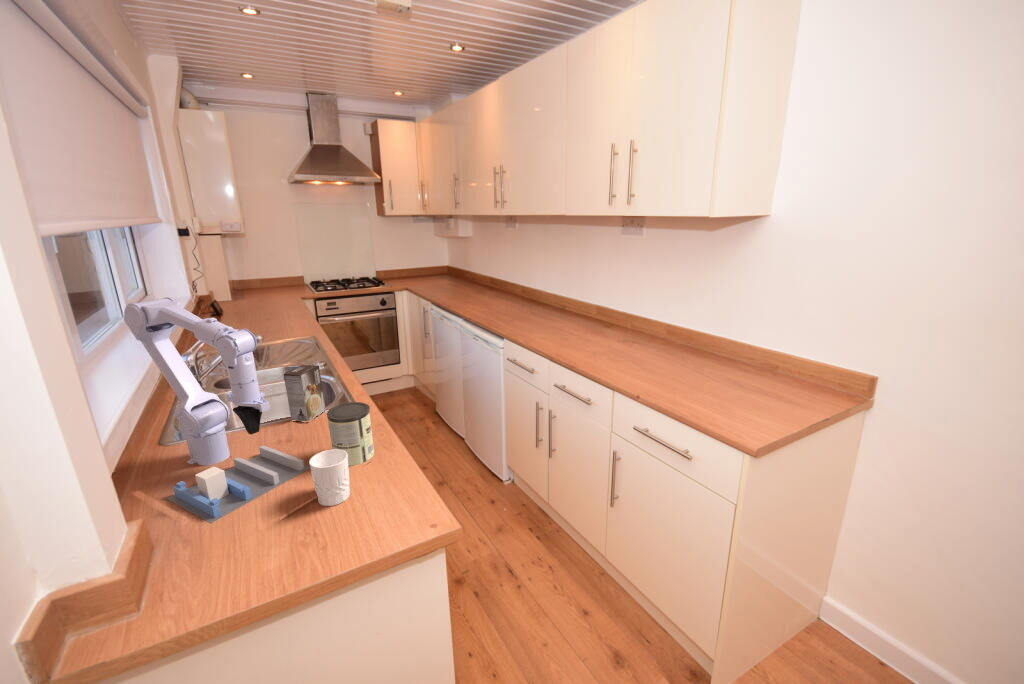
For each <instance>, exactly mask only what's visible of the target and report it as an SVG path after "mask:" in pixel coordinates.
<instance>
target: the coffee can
mask: <svg viewBox="0 0 1024 684" xmlns="http://www.w3.org/2000/svg"><path fill="white" fill-rule="evenodd" d="M370 410H371V408H370V405H369V404H367V403H366V402H359V401H351V402H344V403H339V404H337V405H335V406H333V407H331V408H330V409H328V410H327V412H326V418H327V422H328V429H329V435H330V437H329V438H330V441H331V448H332V449H339V450H344V451H346V452H347V454H348V467H351V466H358V465H361V464H364V463H366V462H368V461H369V462H368V463H366V464H364V465H363V467H365V466H366V465H369V464H370V463H371V461H370V460H371V459H372V458H373V457H374V455H375V449H374V447H375V446H374V440H373V433H372V432H373V431H372V422H371V415H370V413H371V412H370ZM332 449H331V450H332Z"/></svg>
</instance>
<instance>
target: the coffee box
mask: <svg viewBox="0 0 1024 684" xmlns="http://www.w3.org/2000/svg"><path fill="white" fill-rule="evenodd" d="M283 379H284V384H285V391H286V392H285V393H286V396H287V397H286V398H287V402H288V407H289V414H290V419H291V420H296V421H310V420H311V419H313V418H314V417H315V416H317V415H318V414H319V413H321V412H322V411H324V410H326V403H325V398H324V391H323V384H322V378H321V371H320V365H311V364H302V365H299V366H296V367H295V368H293V369H291V370H289V371H287V372H285V373H283ZM326 411H327V410H326ZM291 420H290V421H291ZM313 420H314V419H313Z"/></svg>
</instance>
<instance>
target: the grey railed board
mask: <svg viewBox="0 0 1024 684" xmlns="http://www.w3.org/2000/svg"><path fill="white" fill-rule="evenodd" d="M258 448H259V453H260V454H258V455H256V456H253V457H252V458H249V459H244V458H241V457H239V456H238V457H234V458H233V464H234V466H232V467H230V468H228V469H225V470H224V472H225V477H226V482H227V486H228V491H229V494H228V495H226V496H224V497H223V498H221V499H217V498H214V499H212V500H209V499H207V498H205V497H203V496H201V495H200V494H199V489H198V485H197V483H195V484H194V485H192V486H190V487H186V486H187V482H186V481H183V480H181V481H179V482H177V483H175V485H173V486H172V489H173V493H174V494H173V495H170V496H169V497H166V500H168V501H170V502H172V503H174V505H177V506H178V507H180V508H183V509H184V510H186V511H188V512H189V513H192V514H193V515H195V516H197V517H198V518H200V519H202V520H204V521H206V522H207V523H209V524H212V523H214V522H217V521H218V520H219V519H221V518H223V517H226V516H227V515H229V514H231V513H232V512H234V511H236V510H237V509H239V508H242V507H243V506H245V505H246V504H249V503H250V502H252V501H254V500H255V499H258V498H260V497H261V496H263V495H265V494H266V493H268V492H271V491H272V490H274V489H276V488H277V487H279V486H281V485H282V484H284V483H286V482H288V481H290V480H292V479H294V478H295V477H297V476H299V475H301V474H303V473H305V472H306V471H308V470H311V469H310V465H307V464H305V463H304V459H302V458H299V457H296V456H293V455H291V454H287V453H285V452H283V451H280V450H277V449H274V448H272V447H269V446H266V445H262V446H259V447H258Z"/></svg>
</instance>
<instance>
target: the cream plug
mask: <svg viewBox="0 0 1024 684" xmlns="http://www.w3.org/2000/svg"><path fill="white" fill-rule="evenodd" d="M224 471H225V470H223V469H221V468H219V467H216V466H211V467H209V468H206V469H205V470H203V471H200V472H198V473H196V474H195V475H194V476H195V480H196V484H197V485H198V489H199V494H200V495H201V496H203V497H205V498H207V499H209V500H212V499H214V498H217V499H221V498H223V497H224V496H226V495H228V494H229V491H228V486H227V482H226V477H225V472H224Z"/></svg>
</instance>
